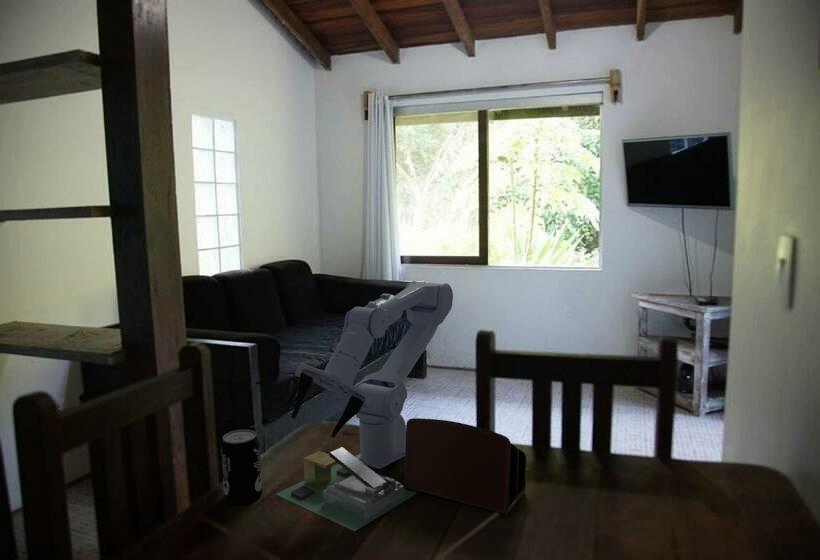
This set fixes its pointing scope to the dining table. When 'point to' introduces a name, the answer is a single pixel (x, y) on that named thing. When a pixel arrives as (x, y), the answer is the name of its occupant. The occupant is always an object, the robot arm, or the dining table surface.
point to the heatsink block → (362, 497)
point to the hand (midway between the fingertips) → (313, 426)
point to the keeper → (317, 468)
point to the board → (314, 502)
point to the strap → (358, 469)
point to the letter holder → (463, 464)
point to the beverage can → (241, 467)
